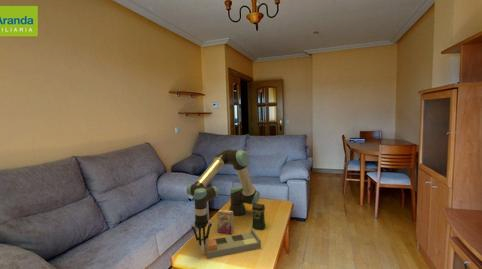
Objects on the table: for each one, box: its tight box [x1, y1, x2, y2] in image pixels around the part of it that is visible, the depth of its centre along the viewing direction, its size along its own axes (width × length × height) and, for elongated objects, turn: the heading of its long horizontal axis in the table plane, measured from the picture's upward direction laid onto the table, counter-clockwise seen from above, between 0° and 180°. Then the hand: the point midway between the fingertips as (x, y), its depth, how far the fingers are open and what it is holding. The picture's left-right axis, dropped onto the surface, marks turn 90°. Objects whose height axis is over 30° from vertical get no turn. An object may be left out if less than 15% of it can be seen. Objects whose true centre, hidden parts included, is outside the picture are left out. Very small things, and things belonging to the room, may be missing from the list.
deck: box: [204, 227, 262, 260], centre depth 162 cm, size 17×35×6 cm, turn 107°
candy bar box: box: [216, 208, 235, 235], centre depth 180 cm, size 11×5×16 cm, turn 71°
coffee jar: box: [251, 203, 266, 230], centre depth 186 cm, size 10×8×19 cm
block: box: [205, 239, 217, 251], centre depth 155 cm, size 6×6×4 cm
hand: (202, 249), depth 152 cm, fingers closed
